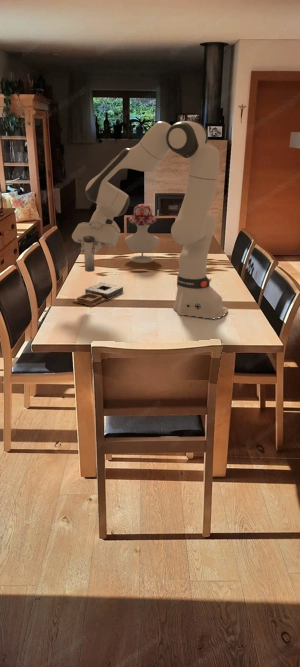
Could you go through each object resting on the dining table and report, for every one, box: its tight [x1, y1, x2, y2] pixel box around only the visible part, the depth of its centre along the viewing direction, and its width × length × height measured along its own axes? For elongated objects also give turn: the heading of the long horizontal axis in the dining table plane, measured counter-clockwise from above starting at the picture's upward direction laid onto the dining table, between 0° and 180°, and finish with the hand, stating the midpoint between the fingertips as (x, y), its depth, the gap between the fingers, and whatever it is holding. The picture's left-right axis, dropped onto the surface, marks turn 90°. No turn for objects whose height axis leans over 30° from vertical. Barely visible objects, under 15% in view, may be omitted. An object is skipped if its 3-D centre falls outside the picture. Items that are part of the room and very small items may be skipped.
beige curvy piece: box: [124, 203, 161, 264], centre depth 275 cm, size 19×18×30 cm
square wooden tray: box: [72, 293, 107, 307], centre depth 214 cm, size 10×10×2 cm
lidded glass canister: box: [83, 236, 96, 273], centre depth 207 cm, size 4×4×14 cm
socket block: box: [84, 282, 124, 300], centre depth 224 cm, size 12×12×2 cm
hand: (88, 252), depth 206 cm, fingers closed on lidded glass canister, 4 cm apart
